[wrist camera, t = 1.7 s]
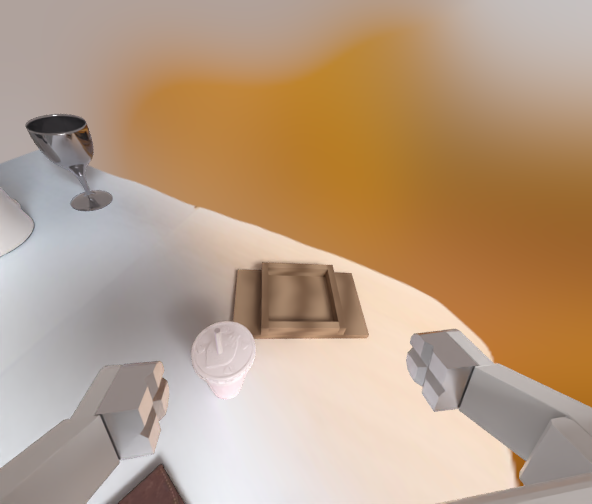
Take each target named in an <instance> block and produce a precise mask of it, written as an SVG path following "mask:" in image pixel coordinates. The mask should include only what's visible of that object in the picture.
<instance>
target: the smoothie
mask: <svg viewBox="0 0 592 504" xmlns="http://www.w3.org/2000/svg"><path fill="white" fill-rule="evenodd" d="M255 351H256V347H255V341H254V338H253V336H252V334H251V332H250V331H249V330H248V329H247V328H246V327H245V326H243V325H241V324H239V323H237V322H232V321H221V322H217V323H214V324H211V325H210V326H208V327H206V328H205V329H204V330H202V331H201V332H200V333H199V335H198V336H197V337H196V339H195V341H194V343H193V345H192V349H191V360H192V366H193V368H194V370H195V372H196V373H197V375H198V376H199V377H200V378H201V379H203V380H205V381H206V382H207V384H208V385H209V386H210V388H211V389H212V391H213V392H214V394H215V395H216V396H217V397H218V398H220V399H231V398H233V397H235V396H236V395H237V394H238V393H239V392H240V390H241V388H242V385H243V382H244V379H245V376H246V373H247V372H248V371H249V369H250V367H251V366H252V364H253V362H254V358H255Z"/></svg>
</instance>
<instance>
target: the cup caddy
mask: <svg viewBox="0 0 592 504" xmlns="http://www.w3.org/2000/svg"><path fill="white" fill-rule="evenodd" d="M233 322H237V323H239V324H241V325H243V326H245V327H246V328H247V329H248V330H249V331H250V332H251V334H252V336H253V338H254V339H290V338H367V337H368V336H369V334H368V330H367V326H366V323H365V319H364V316H363V312H362V309H361V305H360V302H359V298H358V295H357V291H356V288H355V284H354V281H353V277H352V273H334V270H333V265H317V264H290V263H263V262H262V270H238V274H237V284H236V294H235V305H234V315H233Z"/></svg>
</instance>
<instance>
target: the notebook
mask: <svg viewBox="0 0 592 504" xmlns="http://www.w3.org/2000/svg"><path fill="white" fill-rule="evenodd" d="M118 504H184V502H183V500H182V498H181V497H180V495H179V493H178V492H177V490H176V488H175V486H174V485H173V483H172V481H171V480H170V478H169V476H168V474H167V473H166V471H165V470H164V466H163V465H162V464H160V465H159V466H158V467H157V468H156V469H155V470H154V471H152V472H151V473H150V474H149V475H148V476H147V477H146V478H145V479H144V480H143V481H142V482H140V483H139V484H138V485H137V486H136V487H135V488H134V489H133V490H132V491H131V492H130V493H129V494H127V495H126V496H125V497H124V498H123V499H122V500H121V501H120V502H119V503H118Z"/></svg>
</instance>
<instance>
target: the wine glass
mask: <svg viewBox="0 0 592 504" xmlns="http://www.w3.org/2000/svg"><path fill="white" fill-rule="evenodd" d="M26 128H27V130H28V132H29V134H30V136H31V138H32V139H33V141H34V143H35V144H36V145H37V146H38V148H39V149H40V151H41V152H42V153H43V154H44V155H45V157H46V158H47V159H49V160H50V161H51V162H53V163H54V164H56V165H58V166H60V167H62V168H64V169H67V170H69V171H70V172H72V173H73V174H74V175H76V176H77V178H78V179H79V181H80V182H81V184H82V186H83V187H84V189H85V192H83V193H80V194H78V195H76V196H75V197H74V198H73V199H72V200H71V203H70V204H71V206H72V207H73V208H74V209H76V210H80V211H93V210H98V209H101V208H103V207H105V206H107V205H108V204H110V203H111V201H112V199H113V197H112V195H111V194H110V193H108V192H106V191H102V190H91V191H90V189H89V187H88V184H87V181H86V177H85V170H86V167H87V166H88V164H89V162H90V161H91V159H92V157H93V142H92V138H91V134H90V131H89V129H88V126H87V123H86V121H85V120H84V119H83V118H81V117H79V116H75V115H67V114H52V115H44V116H40V117H36V118H34V119H31V120H29V121H28V122H27V123H26Z"/></svg>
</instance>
